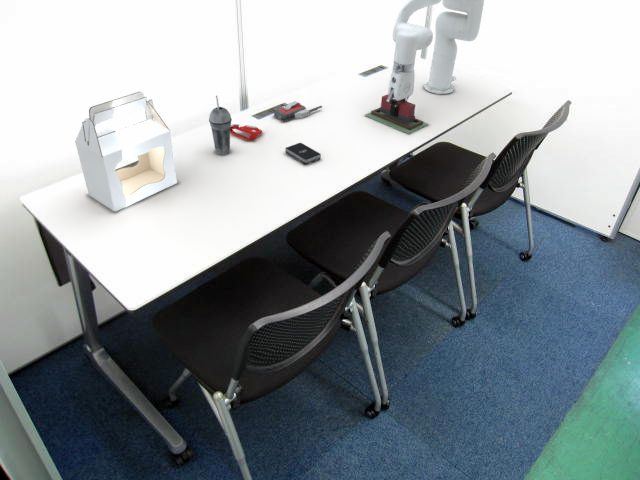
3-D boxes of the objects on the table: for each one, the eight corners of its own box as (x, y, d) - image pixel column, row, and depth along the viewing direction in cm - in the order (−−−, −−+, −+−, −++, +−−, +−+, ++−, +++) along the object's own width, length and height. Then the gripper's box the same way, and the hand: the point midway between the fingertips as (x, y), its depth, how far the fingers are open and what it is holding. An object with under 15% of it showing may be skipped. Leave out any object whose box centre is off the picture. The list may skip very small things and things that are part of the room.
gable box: (114, 213, 151) (92, 119, 134) (87, 195, 158) (64, 103, 141) (178, 183, 165) (166, 94, 148) (151, 168, 172) (137, 82, 155)
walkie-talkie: (286, 125, 201) (323, 110, 212) (286, 114, 198) (324, 99, 210) (270, 117, 205) (307, 103, 217) (270, 106, 203) (308, 93, 214)
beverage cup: (237, 149, 184) (234, 92, 172) (227, 158, 179) (223, 100, 167) (218, 145, 186) (213, 88, 174) (207, 154, 180) (202, 96, 168)
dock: (385, 107, 217) (385, 103, 216) (427, 125, 205) (428, 120, 204) (365, 116, 210) (365, 111, 209) (408, 134, 198) (409, 129, 197)
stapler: (414, 120, 204) (416, 105, 200) (408, 123, 202) (410, 107, 198) (385, 108, 211) (387, 94, 208) (379, 111, 209) (381, 96, 206)
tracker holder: (259, 125, 197) (266, 130, 188) (257, 137, 199) (264, 142, 190) (226, 120, 192) (232, 126, 184) (225, 133, 194) (230, 139, 185)
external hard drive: (305, 166, 177) (305, 160, 175) (284, 153, 183) (284, 147, 182) (321, 159, 180) (321, 154, 179) (300, 147, 187) (300, 142, 186)
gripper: (397, 74, 188) (391, 123, 199) (425, 64, 198) (418, 111, 209) (380, 68, 192) (375, 117, 203) (409, 59, 202) (402, 105, 213)
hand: (397, 113), depth 206 cm, fingers closed on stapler, 3 cm apart
